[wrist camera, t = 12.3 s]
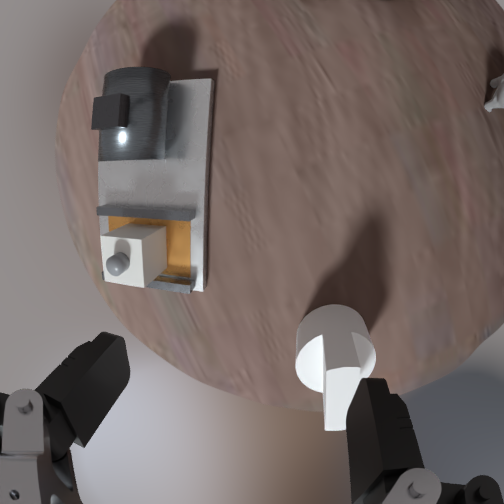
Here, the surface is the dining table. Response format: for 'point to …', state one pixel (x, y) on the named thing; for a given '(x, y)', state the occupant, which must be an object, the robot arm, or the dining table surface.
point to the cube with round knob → (134, 254)
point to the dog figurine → (496, 94)
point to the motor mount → (157, 164)
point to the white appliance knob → (334, 358)
